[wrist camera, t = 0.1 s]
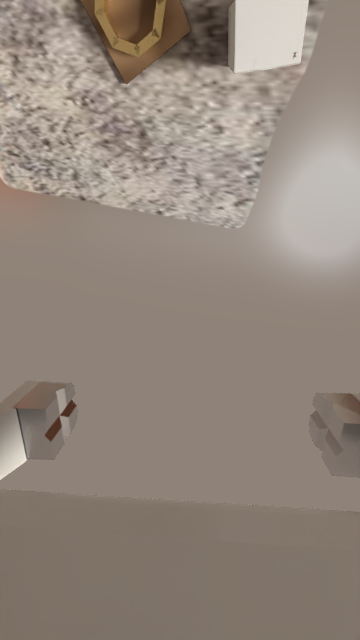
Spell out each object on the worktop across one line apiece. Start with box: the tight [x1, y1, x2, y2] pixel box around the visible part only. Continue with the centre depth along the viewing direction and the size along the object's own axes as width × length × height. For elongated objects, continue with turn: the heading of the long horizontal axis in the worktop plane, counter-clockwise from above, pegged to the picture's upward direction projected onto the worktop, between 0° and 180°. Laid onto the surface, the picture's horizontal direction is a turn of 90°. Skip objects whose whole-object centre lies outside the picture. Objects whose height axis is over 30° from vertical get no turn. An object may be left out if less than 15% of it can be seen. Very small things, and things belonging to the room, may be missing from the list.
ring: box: [95, 0, 168, 57], centre depth 37 cm, size 9×9×2 cm
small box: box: [228, 0, 309, 74], centre depth 35 cm, size 8×6×13 cm
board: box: [81, 0, 191, 84], centre depth 38 cm, size 12×12×1 cm
